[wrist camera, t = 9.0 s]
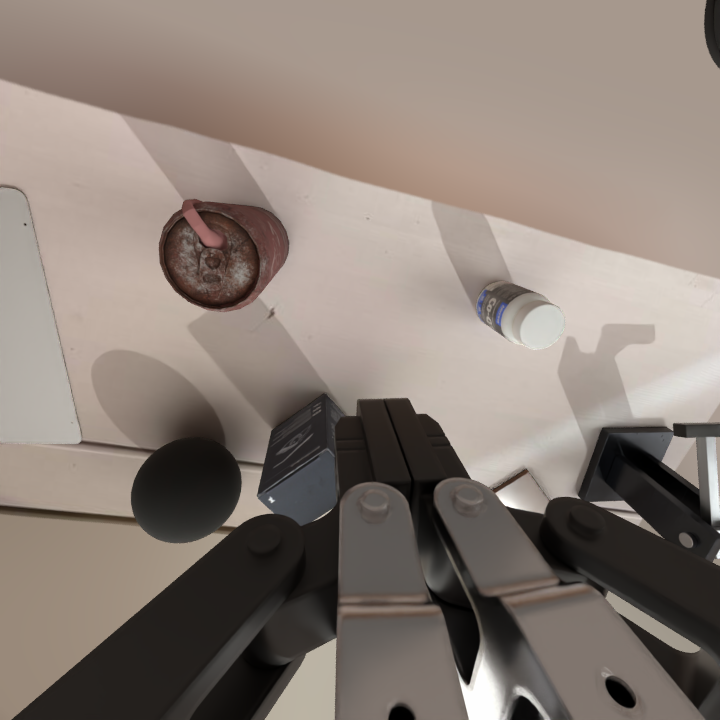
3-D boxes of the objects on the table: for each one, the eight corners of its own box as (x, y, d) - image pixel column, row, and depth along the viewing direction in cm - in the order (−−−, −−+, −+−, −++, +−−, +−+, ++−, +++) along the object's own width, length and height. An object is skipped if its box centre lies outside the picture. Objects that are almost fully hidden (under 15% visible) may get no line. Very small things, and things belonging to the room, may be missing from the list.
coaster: (526, 468, 46) (528, 472, 45) (554, 507, 49) (557, 510, 48) (468, 505, 47) (469, 508, 47) (499, 540, 50) (501, 543, 50)
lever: (667, 422, 38) (690, 425, 35) (717, 421, 38) (743, 424, 36) (674, 548, 37) (699, 560, 34) (725, 546, 37) (752, 557, 35)
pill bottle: (470, 290, 36) (510, 311, 28) (514, 273, 36) (567, 290, 28) (479, 331, 38) (520, 361, 30) (521, 316, 37) (573, 342, 30)
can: (264, 190, 31) (221, 173, 18) (301, 257, 33) (287, 285, 20) (205, 224, 31) (122, 231, 18) (245, 287, 34) (198, 333, 21)
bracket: (602, 427, 44) (713, 513, 32) (666, 426, 45) (800, 509, 33) (577, 495, 49) (667, 595, 36) (637, 493, 49) (745, 589, 37)
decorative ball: (233, 500, 43) (208, 577, 34) (148, 476, 41) (97, 552, 31) (262, 436, 40) (244, 503, 31) (172, 406, 38) (123, 469, 28)
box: (301, 459, 42) (295, 536, 32) (270, 428, 40) (252, 499, 30) (356, 423, 41) (366, 491, 31) (326, 389, 39) (327, 450, 29)
